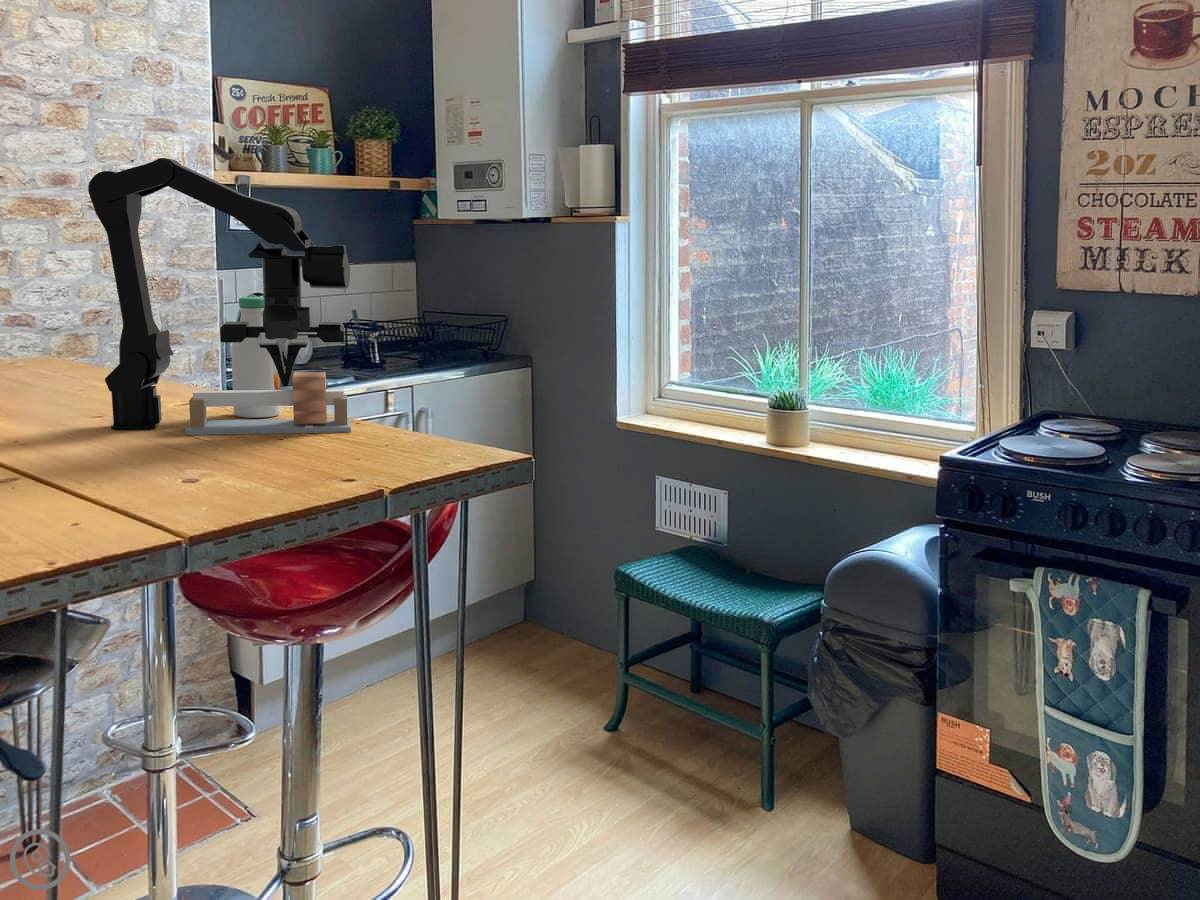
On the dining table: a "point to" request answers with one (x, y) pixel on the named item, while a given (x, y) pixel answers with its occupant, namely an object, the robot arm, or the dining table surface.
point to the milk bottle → (253, 362)
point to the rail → (263, 398)
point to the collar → (309, 397)
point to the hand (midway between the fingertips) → (285, 386)
